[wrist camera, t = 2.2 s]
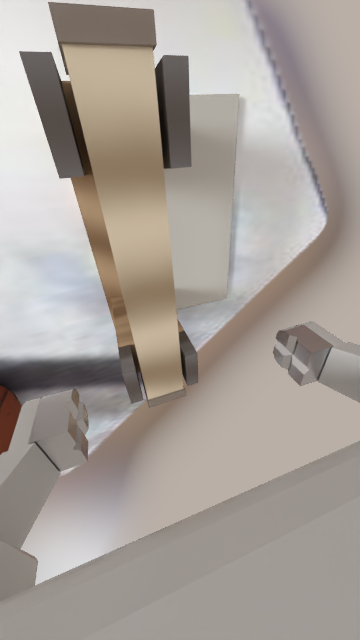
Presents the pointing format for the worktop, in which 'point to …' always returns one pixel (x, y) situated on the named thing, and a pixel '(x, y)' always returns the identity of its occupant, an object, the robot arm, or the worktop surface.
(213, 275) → the mat
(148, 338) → the rail
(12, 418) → the potted plant
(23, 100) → the worktop surface
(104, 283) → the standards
